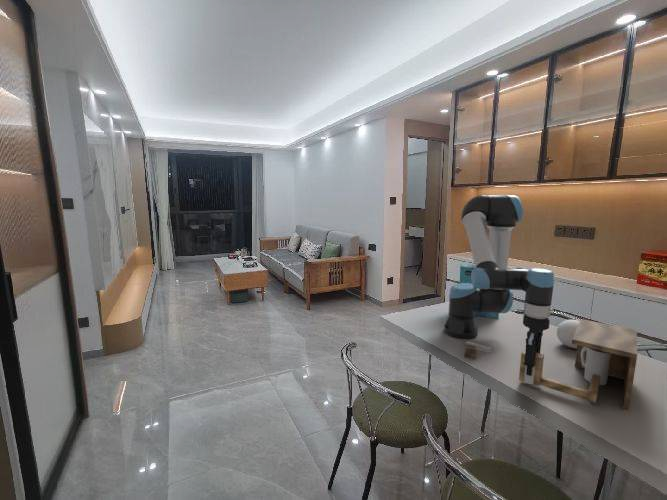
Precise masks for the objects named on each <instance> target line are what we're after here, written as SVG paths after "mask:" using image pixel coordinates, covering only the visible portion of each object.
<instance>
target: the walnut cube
mask: <svg viewBox="0 0 667 500" xmlns="http://www.w3.org/2000/svg"><path fill="white" fill-rule="evenodd" d="M476 356H477V349H476V346H473V345H468V344H466V346H465V348H464V358H466V359H471V360H476Z"/></svg>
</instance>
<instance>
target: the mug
mask: <svg viewBox="0 0 667 500" xmlns="http://www.w3.org/2000/svg"><path fill="white" fill-rule="evenodd" d="M586 350H587V354H586V361H585V358H584V353H585V351H586ZM611 355H612V353H609V352H605V351H600V350H596V349H592V348H588V347H583V349H582V351H581V361H582V366H584V367H585V369H584V378H583V379H585V381H587V382H588V383H589V384H590V383H591V379H592V375H593V374H595V375H599V376H600V383H599V386H606V385H607V384H608V377H609V375H608V373H609V367H610V361H611Z"/></svg>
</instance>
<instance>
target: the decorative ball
mask: <svg viewBox="0 0 667 500" xmlns="http://www.w3.org/2000/svg"><path fill="white" fill-rule="evenodd" d="M579 322H580V320H578V319H566V320H564V321H562V322H560V323H559V324H558V325H557V328H556V336H557V339H558V340H559V342H561V344H562V345H564V346H566V347H568V348H569V349H570V348H571V349H577V345H575V344H572V339H573V337H574V334H575V332H576V329H577V327H578V324H579Z"/></svg>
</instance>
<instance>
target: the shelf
mask: <svg viewBox="0 0 667 500" xmlns="http://www.w3.org/2000/svg"><path fill="white" fill-rule="evenodd" d="M579 321H580V322H579V324H578V327H577V329H576V332H575V334H574V337H573V339H572V344H575V345H577V348H576V353H575V361H574V367H577V368H581V369H584V370H585V367H584V366H582V361H581V351H582V349H583V347H588V348H592V349H596V350H600V351H605V352H609V353H612V355H611V361H610V367H609V373H608V376H609V377H614V378H617V379H622V380H624V386H623V388H624V389H623V411H625V412H629V410H630V404H631V398H632V397H631V396H632V393H633V392H632V391H633V384H634V378H635V371H636V367H637V360H638V359H637V358H638V329H633V328H628V327H624V326H623V327H622V326H618V325H614V324H608V323H603V322H599V321H597V322H596V321H593V320H588V319H582V318H580V319H579ZM586 354H587V350H586V351H585V353H584V358H585V361H586Z"/></svg>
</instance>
